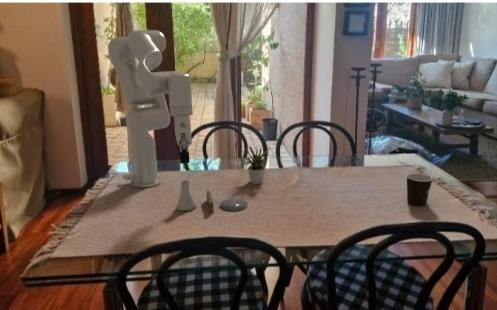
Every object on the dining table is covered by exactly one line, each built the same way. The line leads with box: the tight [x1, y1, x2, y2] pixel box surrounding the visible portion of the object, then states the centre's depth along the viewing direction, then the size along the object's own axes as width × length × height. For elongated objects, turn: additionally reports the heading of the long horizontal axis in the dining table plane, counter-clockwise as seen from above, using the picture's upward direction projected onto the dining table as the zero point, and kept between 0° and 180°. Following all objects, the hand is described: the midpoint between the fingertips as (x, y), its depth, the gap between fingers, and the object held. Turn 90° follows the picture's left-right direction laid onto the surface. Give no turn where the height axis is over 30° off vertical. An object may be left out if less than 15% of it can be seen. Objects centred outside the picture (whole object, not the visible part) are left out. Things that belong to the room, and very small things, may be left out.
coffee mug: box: [406, 172, 433, 208], centre depth 154 cm, size 12×9×10 cm
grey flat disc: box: [219, 198, 248, 212], centre depth 154 cm, size 10×10×1 cm
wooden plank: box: [206, 189, 215, 214], centre depth 153 cm, size 1×12×4 cm, turn 11°
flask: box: [176, 179, 197, 212], centre depth 152 cm, size 7×7×10 cm
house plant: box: [242, 144, 272, 185], centre depth 176 cm, size 14×14×16 cm
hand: (184, 159), depth 148 cm, fingers open, 9 cm apart
